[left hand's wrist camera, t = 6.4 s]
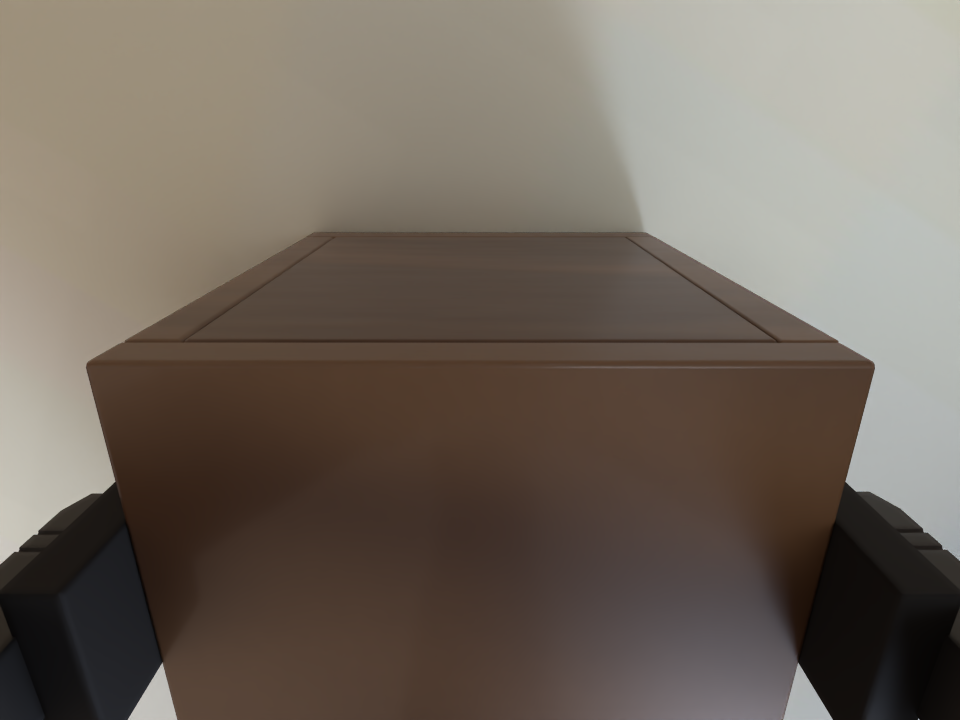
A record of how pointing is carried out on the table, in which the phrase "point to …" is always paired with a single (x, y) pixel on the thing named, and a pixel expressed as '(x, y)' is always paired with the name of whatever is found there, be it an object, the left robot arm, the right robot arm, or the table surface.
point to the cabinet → (480, 482)
